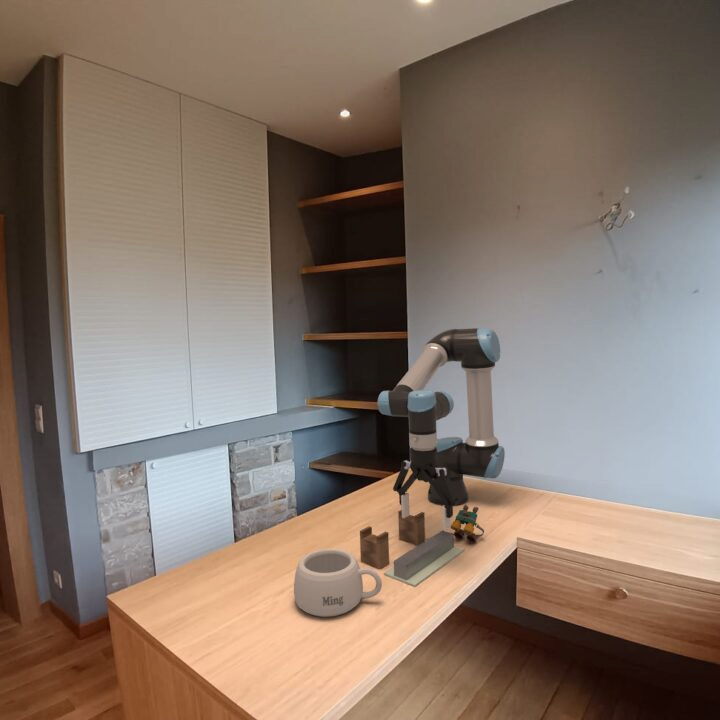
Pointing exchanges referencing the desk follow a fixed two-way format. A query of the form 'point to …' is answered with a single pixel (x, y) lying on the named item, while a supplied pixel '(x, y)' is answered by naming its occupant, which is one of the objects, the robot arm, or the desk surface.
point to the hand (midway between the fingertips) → (425, 522)
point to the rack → (378, 546)
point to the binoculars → (469, 520)
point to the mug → (331, 582)
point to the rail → (423, 555)
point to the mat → (428, 568)
